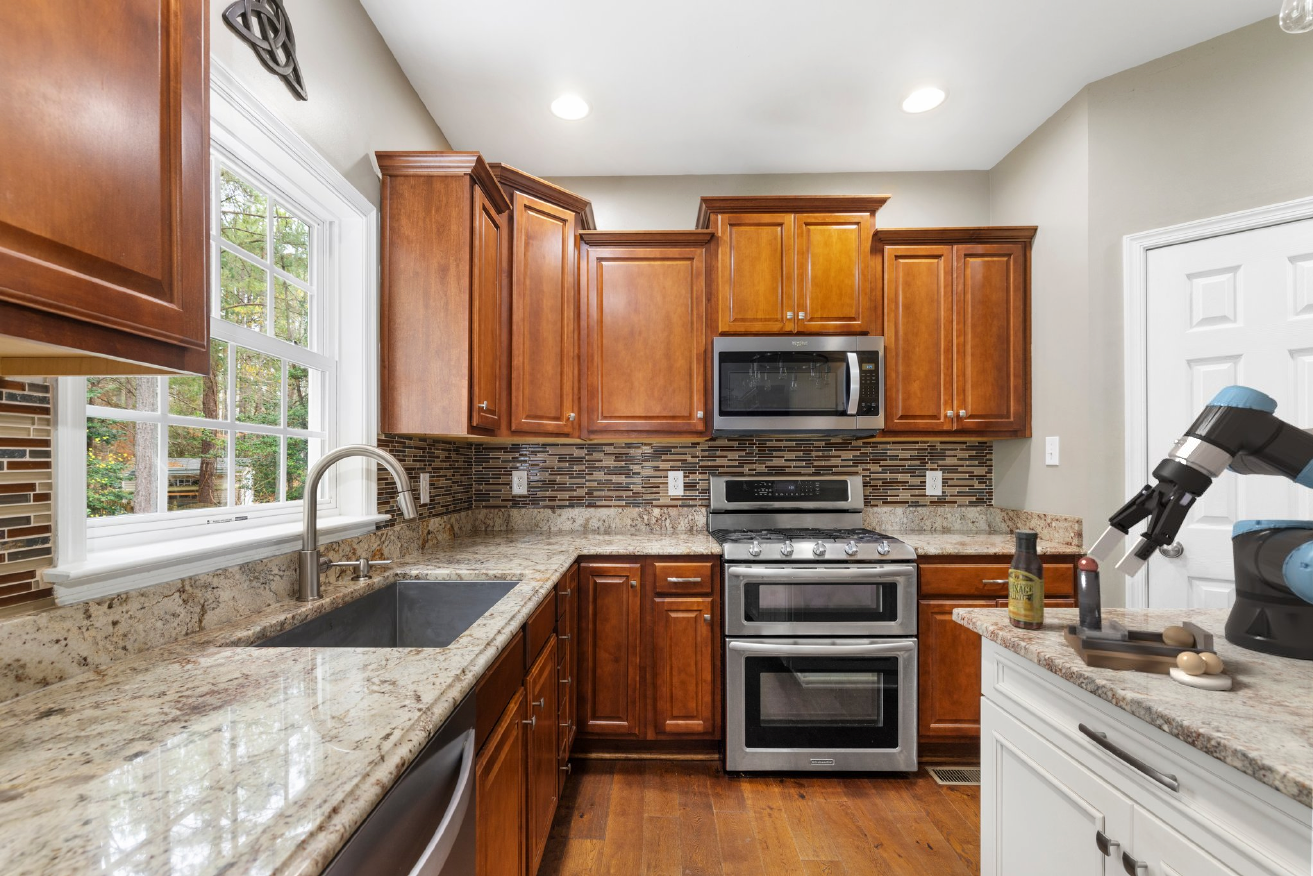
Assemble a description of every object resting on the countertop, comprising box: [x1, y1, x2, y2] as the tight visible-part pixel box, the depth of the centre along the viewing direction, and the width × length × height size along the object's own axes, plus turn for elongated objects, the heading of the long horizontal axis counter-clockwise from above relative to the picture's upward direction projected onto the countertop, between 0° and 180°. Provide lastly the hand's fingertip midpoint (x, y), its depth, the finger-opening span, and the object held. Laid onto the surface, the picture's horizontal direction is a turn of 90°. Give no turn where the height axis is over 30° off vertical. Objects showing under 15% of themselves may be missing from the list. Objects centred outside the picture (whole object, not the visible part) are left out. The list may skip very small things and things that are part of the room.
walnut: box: [1162, 625, 1194, 648], centre depth 99 cm, size 4×4×4 cm
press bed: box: [1063, 620, 1228, 676], centre depth 102 cm, size 18×16×6 cm
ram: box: [1075, 556, 1129, 642], centre depth 104 cm, size 6×6×15 cm
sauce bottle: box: [1007, 529, 1045, 630], centre depth 121 cm, size 7×6×20 cm
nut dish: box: [1169, 652, 1233, 692], centre depth 90 cm, size 7×7×5 cm
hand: (1108, 564), depth 106 cm, fingers open, 13 cm apart
